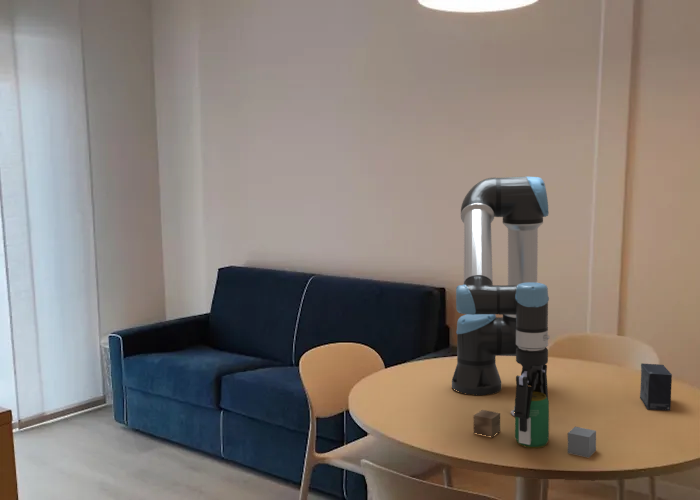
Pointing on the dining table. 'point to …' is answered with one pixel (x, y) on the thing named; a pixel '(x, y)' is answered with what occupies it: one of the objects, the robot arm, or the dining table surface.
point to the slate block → (582, 442)
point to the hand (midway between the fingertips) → (531, 437)
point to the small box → (655, 387)
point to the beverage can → (537, 421)
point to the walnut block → (487, 423)
